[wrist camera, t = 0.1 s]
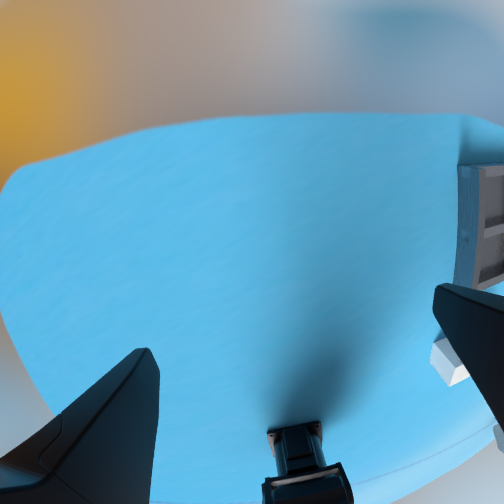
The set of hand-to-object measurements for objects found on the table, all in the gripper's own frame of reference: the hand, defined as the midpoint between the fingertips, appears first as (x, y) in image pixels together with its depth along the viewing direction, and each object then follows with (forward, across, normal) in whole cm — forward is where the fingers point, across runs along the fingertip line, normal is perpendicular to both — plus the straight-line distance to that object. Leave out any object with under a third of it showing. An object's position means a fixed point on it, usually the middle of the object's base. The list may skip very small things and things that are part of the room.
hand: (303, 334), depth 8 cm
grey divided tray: (+15, -24, +5) cm, 29 cm away
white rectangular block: (+15, -21, +19) cm, 32 cm away
